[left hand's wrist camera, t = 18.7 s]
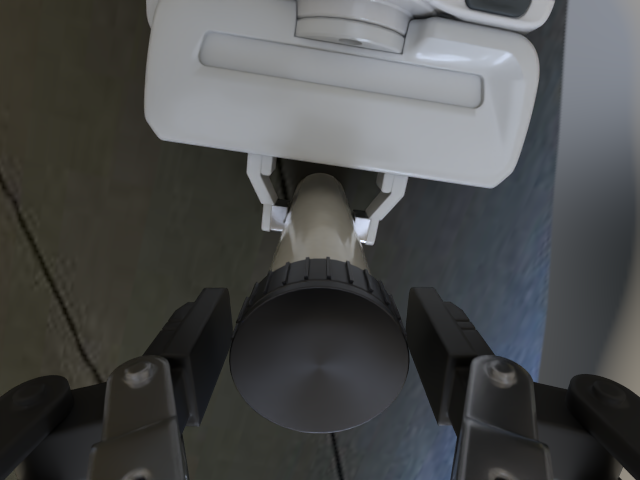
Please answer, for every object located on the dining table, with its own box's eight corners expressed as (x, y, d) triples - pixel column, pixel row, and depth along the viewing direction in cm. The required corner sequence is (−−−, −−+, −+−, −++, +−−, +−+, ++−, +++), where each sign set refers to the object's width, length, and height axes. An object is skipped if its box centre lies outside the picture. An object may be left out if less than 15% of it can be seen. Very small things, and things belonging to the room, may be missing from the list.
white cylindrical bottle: (283, 201, 27) (219, 355, 10) (316, 161, 26) (310, 256, 9) (322, 233, 28) (326, 424, 11) (356, 195, 27) (420, 341, 10)
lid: (351, 408, 12) (356, 456, 10) (217, 355, 11) (199, 398, 10) (428, 296, 11) (449, 332, 9) (279, 227, 10) (271, 251, 8)
